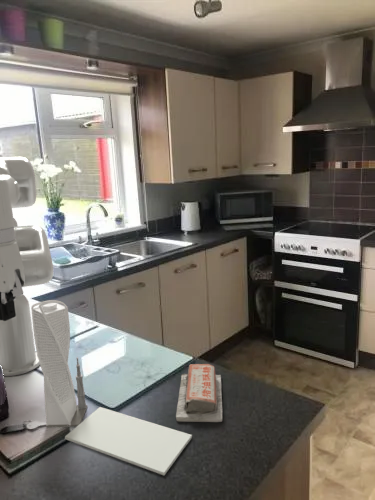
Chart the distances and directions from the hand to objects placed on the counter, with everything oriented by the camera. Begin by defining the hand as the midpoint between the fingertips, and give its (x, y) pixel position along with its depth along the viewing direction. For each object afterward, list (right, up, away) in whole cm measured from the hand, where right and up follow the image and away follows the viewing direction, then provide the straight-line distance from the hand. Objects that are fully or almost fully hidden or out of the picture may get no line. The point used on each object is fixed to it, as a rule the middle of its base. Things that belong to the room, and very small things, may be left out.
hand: (7, 318), depth 91 cm
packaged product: (+43, -20, +5) cm, 47 cm away
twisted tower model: (+13, -22, -1) cm, 25 cm away
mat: (+28, -23, -8) cm, 37 cm away
